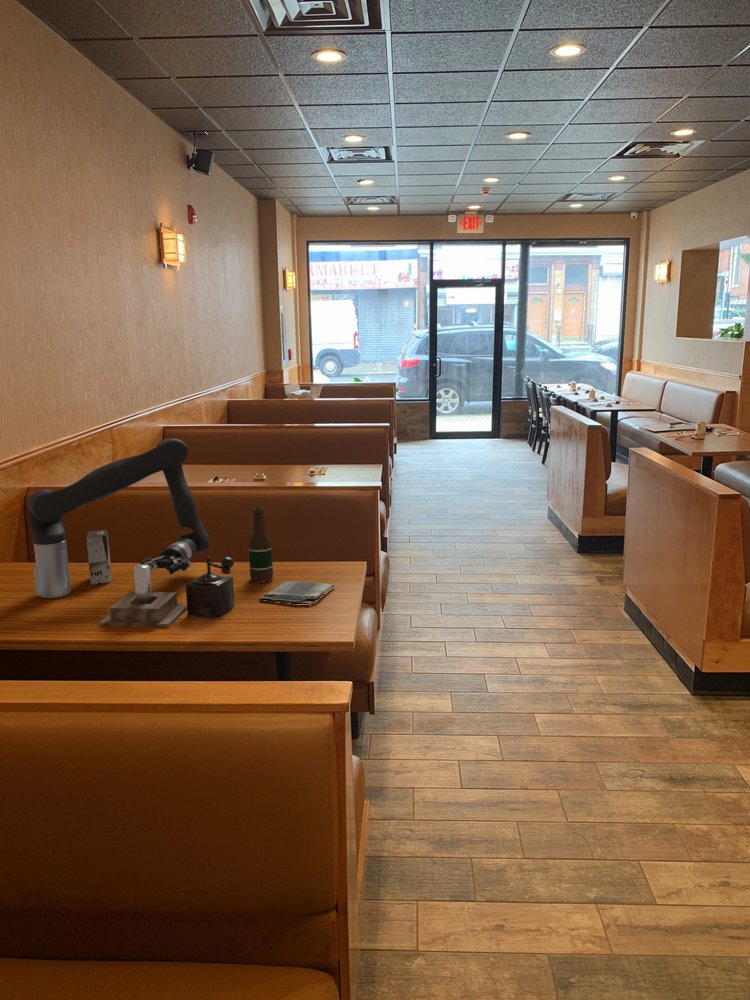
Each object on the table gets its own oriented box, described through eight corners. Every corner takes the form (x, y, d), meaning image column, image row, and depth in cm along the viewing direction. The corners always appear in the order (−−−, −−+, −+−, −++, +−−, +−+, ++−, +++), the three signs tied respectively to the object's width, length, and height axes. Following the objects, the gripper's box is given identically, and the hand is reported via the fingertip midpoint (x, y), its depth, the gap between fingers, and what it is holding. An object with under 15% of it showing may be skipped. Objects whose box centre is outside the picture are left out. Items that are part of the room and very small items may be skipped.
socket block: (99, 625, 211) (97, 608, 210) (124, 606, 227) (122, 590, 226) (168, 627, 209) (167, 610, 208) (188, 607, 225) (187, 591, 224)
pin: (134, 615, 216) (130, 568, 213) (141, 610, 220) (137, 564, 218) (149, 616, 216) (145, 568, 213) (155, 610, 220) (151, 564, 217)
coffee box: (111, 582, 250) (106, 535, 247) (90, 585, 248) (85, 537, 245) (111, 575, 259) (107, 529, 255) (91, 577, 257) (87, 531, 253)
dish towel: (284, 585, 246) (284, 576, 245) (335, 590, 240) (335, 580, 239) (257, 603, 229) (256, 593, 228) (311, 609, 223) (311, 599, 222)
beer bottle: (245, 579, 251) (241, 508, 246) (266, 574, 256) (263, 505, 251) (256, 584, 245) (253, 512, 240) (277, 580, 250) (274, 508, 245)
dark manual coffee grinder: (184, 616, 218) (180, 555, 214) (204, 603, 228) (200, 545, 225) (233, 621, 213) (229, 559, 210) (251, 608, 224) (248, 549, 220)
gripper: (153, 544, 242) (132, 558, 226) (197, 544, 240) (178, 559, 224) (155, 566, 243) (134, 582, 228) (198, 567, 242) (180, 583, 226)
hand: (156, 570), depth 226 cm, fingers open, 8 cm apart
